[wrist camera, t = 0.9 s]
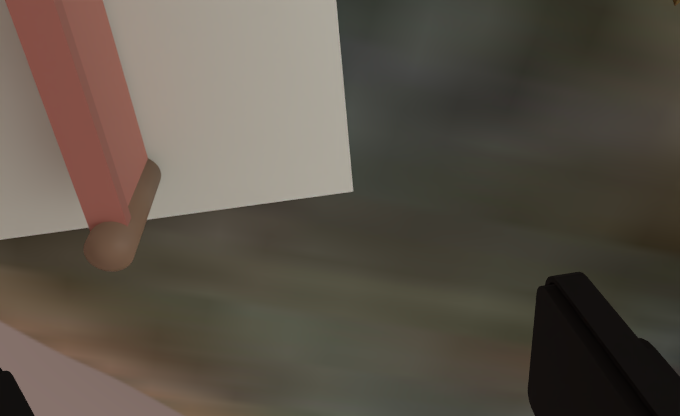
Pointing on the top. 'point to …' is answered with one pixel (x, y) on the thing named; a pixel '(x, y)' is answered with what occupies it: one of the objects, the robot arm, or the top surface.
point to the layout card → (193, 110)
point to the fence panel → (91, 121)
